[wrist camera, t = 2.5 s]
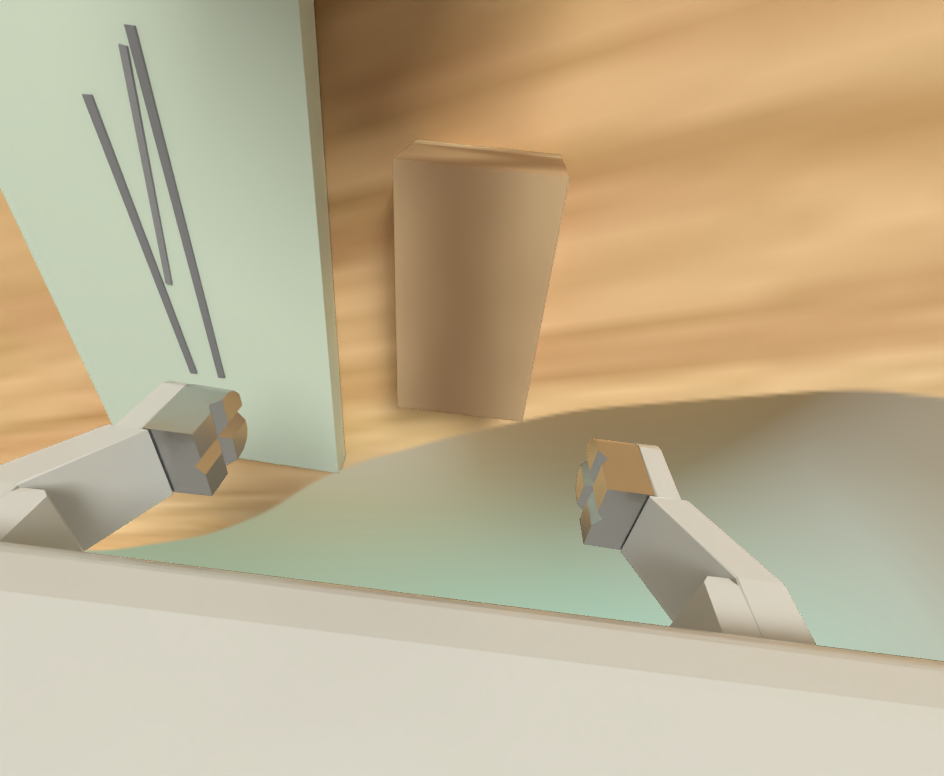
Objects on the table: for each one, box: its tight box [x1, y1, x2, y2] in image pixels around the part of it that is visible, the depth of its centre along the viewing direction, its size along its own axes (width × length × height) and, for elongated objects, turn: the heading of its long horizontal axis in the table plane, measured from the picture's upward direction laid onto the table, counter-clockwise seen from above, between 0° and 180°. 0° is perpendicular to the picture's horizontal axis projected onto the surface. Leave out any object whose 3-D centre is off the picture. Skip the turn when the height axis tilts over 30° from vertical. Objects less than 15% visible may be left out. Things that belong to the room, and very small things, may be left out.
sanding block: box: [393, 139, 570, 422], centre depth 17 cm, size 5×9×4 cm, turn 175°
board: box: [0, 0, 345, 473], centre depth 18 cm, size 12×24×1 cm, turn 173°
